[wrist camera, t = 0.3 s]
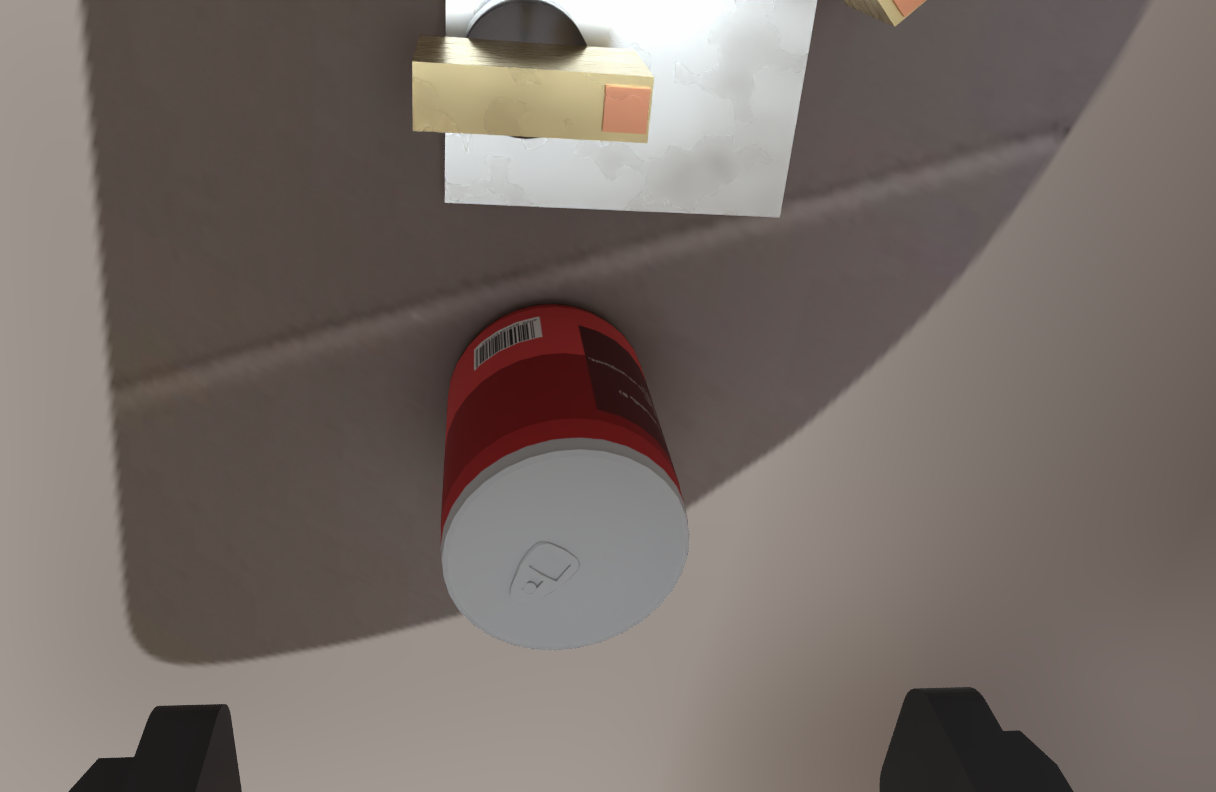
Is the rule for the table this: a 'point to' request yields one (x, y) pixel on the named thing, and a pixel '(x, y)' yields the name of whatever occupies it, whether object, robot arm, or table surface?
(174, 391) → the table surface
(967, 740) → the robot arm
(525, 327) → the canned food
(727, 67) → the level plate
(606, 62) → the knob
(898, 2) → the yellow paddle knob
